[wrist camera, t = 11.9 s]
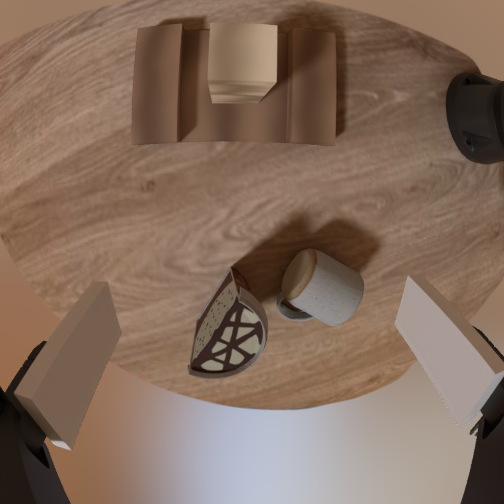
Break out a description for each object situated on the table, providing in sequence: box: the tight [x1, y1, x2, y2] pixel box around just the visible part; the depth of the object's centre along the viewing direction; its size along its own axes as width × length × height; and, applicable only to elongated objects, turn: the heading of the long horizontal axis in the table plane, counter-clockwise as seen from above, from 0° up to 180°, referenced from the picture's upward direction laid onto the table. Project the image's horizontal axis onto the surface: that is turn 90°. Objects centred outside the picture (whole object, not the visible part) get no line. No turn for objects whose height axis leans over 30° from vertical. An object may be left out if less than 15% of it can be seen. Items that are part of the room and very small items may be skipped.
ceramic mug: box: [277, 248, 364, 326], centre depth 35 cm, size 11×8×8 cm
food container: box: [188, 267, 268, 379], centre depth 34 cm, size 12×6×10 cm, turn 148°
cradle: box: [132, 23, 336, 146], centre depth 28 cm, size 22×14×3 cm, turn 89°
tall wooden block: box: [208, 23, 277, 104], centre depth 23 cm, size 5×5×12 cm
